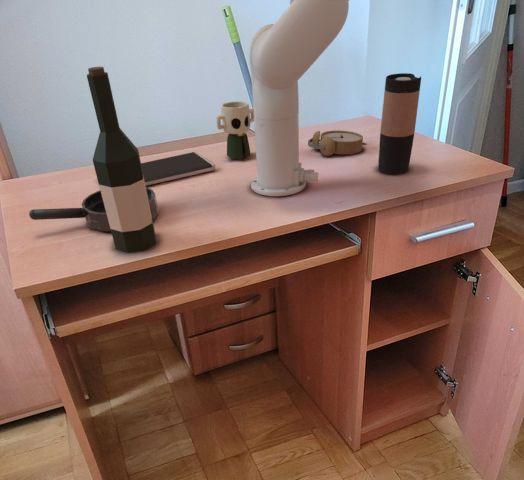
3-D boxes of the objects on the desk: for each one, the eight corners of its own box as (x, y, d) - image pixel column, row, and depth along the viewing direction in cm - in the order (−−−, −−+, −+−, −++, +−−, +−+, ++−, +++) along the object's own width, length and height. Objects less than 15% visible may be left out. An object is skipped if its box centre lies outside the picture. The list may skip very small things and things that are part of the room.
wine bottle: (148, 253, 93) (108, 73, 74) (107, 251, 95) (58, 74, 76) (163, 233, 100) (130, 62, 81) (124, 231, 101) (83, 63, 82)
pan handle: (87, 214, 104) (82, 198, 102) (89, 218, 103) (84, 201, 101) (33, 225, 101) (27, 209, 99) (34, 229, 100) (27, 212, 98)
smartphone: (216, 171, 126) (215, 164, 125) (111, 195, 117) (109, 188, 116) (196, 157, 135) (195, 150, 134) (97, 178, 126) (96, 172, 125)
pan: (149, 198, 114) (146, 180, 112) (166, 223, 103) (162, 203, 101) (83, 212, 110) (77, 193, 107) (92, 239, 99) (86, 219, 97)
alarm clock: (372, 140, 129) (319, 138, 124) (367, 159, 132) (316, 158, 127) (352, 129, 137) (302, 126, 133) (348, 148, 140) (299, 146, 135)
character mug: (227, 165, 129) (222, 111, 121) (214, 158, 134) (208, 105, 125) (263, 156, 133) (260, 103, 125) (249, 149, 138) (246, 98, 130)
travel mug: (373, 173, 119) (382, 80, 106) (380, 163, 124) (389, 72, 112) (406, 176, 116) (419, 81, 104) (411, 165, 122) (424, 73, 109)
